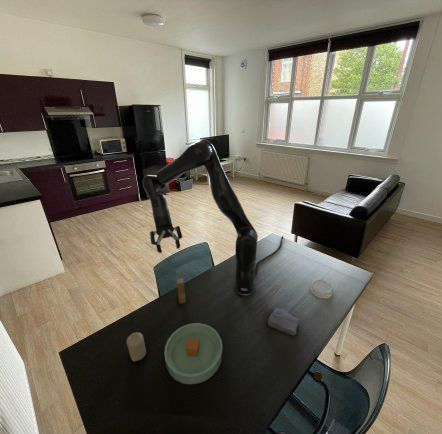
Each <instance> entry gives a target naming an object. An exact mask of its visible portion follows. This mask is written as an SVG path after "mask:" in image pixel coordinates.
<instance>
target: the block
mask: <svg viewBox="0 0 442 434" xmlns="http://www.w3.org/2000/svg"><path fill="white" fill-rule="evenodd" d="M199 347H200V344H199V339H188V343H187V348H186V351H187V356H196V357H198V353H199Z"/></svg>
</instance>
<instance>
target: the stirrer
mask: <svg viewBox="0 0 442 434" xmlns="http://www.w3.org/2000/svg"><path fill="white" fill-rule="evenodd" d="M176 286H177V293H178V295H177V296H178V303H179V305H181V304H186V303H187V299H186V288H185V280H184V277H181V278H177V279H176Z"/></svg>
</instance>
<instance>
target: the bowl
mask: <svg viewBox="0 0 442 434" xmlns="http://www.w3.org/2000/svg"><path fill="white" fill-rule="evenodd" d="M188 339H199V344H200V347H199V353H198V357H196V356H187V351H186V348H187V343H188ZM163 355H164V361H165V367H166V370H167V371H168V374H169V376H171V377H172V378H173V380H175V381H177V382H178V383H181V384H183V385H198V384H201V383H203V382H206V381H207V380H208V379H211V377H213V376H214V375H215V374H216V372H217V371H218V370H219V368H220V366H221V364H222V360H223V340H222V338H221V335H220V334H219V333H218V331H217V330H216V329H214V328H213V327H212V326H210V325H208V324H205V323H199V322H195V323H194V322H193V323H188V324H185V325H182V326H181V327H179V328H177V329H176V330H175V331H174V332H173V333H172V334H171V335H170V336H169V337H168V338H167V341H166V344H165V345H164V352H163Z"/></svg>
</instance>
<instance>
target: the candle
mask: <svg viewBox="0 0 442 434" xmlns="http://www.w3.org/2000/svg"><path fill="white" fill-rule="evenodd" d="M126 345H127V349H128V353H129V357H130V360H131V361H132V362H134V363H135V362H138V361H141V360H142V359H144V358H145V356H146V354H147V348H146V343H145V339H144V335H143V333H141V332H140V331H139V332H133V333H131V334H129V336H127V338H126Z"/></svg>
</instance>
